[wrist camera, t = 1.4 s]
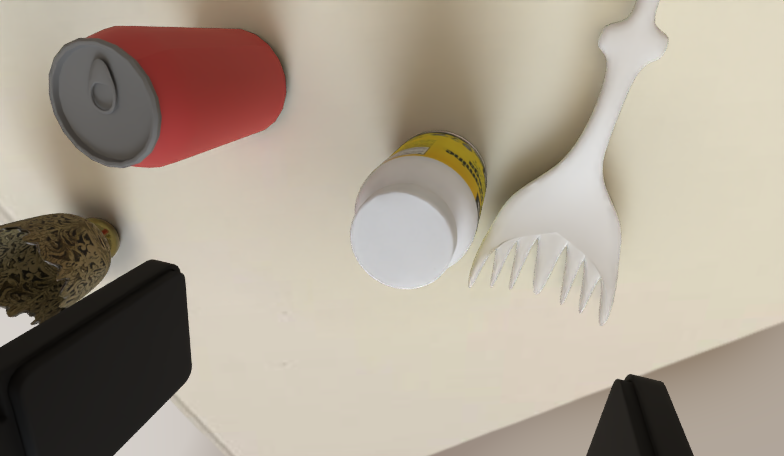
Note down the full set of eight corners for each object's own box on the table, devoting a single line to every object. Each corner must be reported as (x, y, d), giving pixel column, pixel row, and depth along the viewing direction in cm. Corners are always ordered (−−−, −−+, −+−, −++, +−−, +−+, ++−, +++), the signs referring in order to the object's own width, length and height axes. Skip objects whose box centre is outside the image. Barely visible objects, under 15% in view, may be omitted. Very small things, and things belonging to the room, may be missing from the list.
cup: (66, 255, 41) (-30, 301, 34) (66, 179, 38) (-39, 213, 31) (141, 287, 40) (59, 342, 33) (147, 213, 37) (58, 255, 30)
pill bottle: (500, 207, 30) (490, 290, 20) (411, 231, 32) (363, 317, 22) (470, 114, 29) (445, 155, 19) (379, 145, 31) (311, 197, 21)
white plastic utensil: (466, 265, 32) (460, 290, 29) (665, -426, 19) (693, -515, 16) (601, 303, 31) (609, 334, 28) (921, -412, 17) (1007, -508, 14)
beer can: (294, 38, 29) (164, 39, 19) (287, 141, 32) (169, 193, 21) (200, 20, 31) (25, 11, 20) (200, 121, 33) (47, 162, 22)
